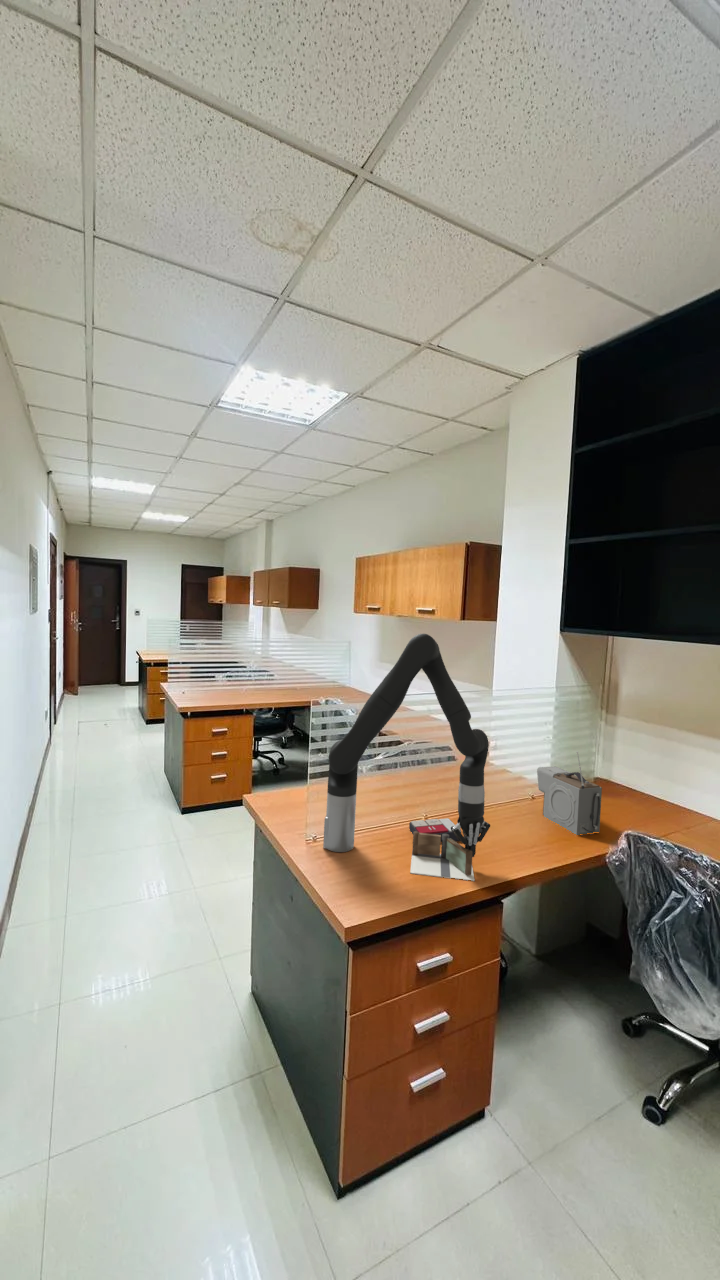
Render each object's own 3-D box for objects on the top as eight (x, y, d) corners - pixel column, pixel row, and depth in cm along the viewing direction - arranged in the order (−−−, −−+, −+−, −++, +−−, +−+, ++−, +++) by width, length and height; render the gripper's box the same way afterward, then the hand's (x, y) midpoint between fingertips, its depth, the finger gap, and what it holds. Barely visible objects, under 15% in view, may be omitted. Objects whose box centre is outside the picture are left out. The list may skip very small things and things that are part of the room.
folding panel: (445, 858, 146) (446, 837, 146) (449, 857, 147) (451, 836, 147) (467, 875, 136) (468, 853, 136) (472, 874, 137) (473, 852, 137)
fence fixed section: (412, 856, 148) (413, 833, 148) (412, 852, 150) (413, 830, 150) (448, 860, 146) (449, 836, 146) (448, 857, 149) (449, 834, 148)
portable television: (555, 810, 195) (560, 736, 194) (602, 834, 172) (607, 751, 172) (531, 812, 191) (535, 737, 190) (575, 837, 168) (580, 752, 168)
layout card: (410, 873, 137) (410, 872, 137) (412, 851, 151) (412, 850, 151) (474, 881, 135) (474, 880, 135) (470, 858, 148) (470, 857, 148)
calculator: (408, 820, 168) (449, 816, 171) (408, 832, 168) (449, 828, 172) (419, 833, 158) (461, 829, 161) (419, 846, 158) (461, 841, 161)
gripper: (482, 791, 147) (480, 847, 148) (445, 796, 142) (443, 854, 143) (497, 799, 140) (496, 858, 141) (459, 805, 135) (458, 866, 136)
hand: (470, 856), depth 142 cm, fingers closed
